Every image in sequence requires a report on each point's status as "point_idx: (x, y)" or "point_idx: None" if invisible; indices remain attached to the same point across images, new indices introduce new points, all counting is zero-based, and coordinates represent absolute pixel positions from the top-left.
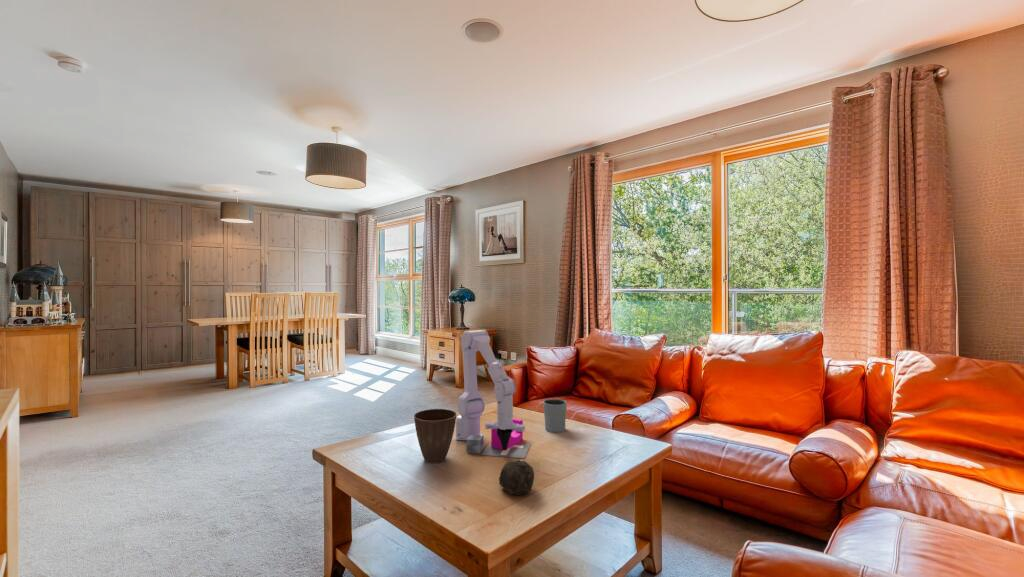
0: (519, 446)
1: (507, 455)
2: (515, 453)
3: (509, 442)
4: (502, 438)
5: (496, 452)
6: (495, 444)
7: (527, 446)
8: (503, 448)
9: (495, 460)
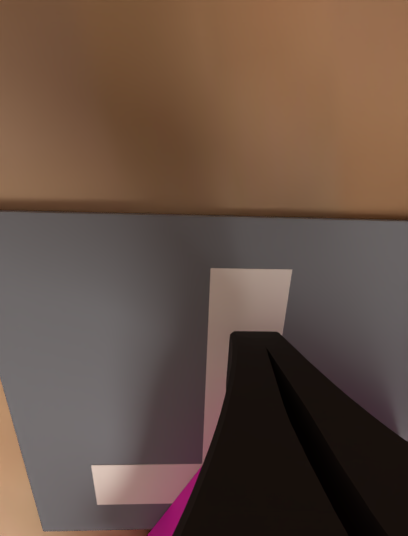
0: (129, 484)
1: (198, 256)
2: (118, 331)
3: None
4: (378, 484)
5: (342, 318)
6: None
7: (55, 495)
8: (272, 339)
9: (342, 68)
